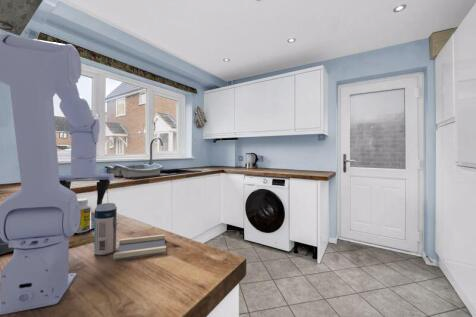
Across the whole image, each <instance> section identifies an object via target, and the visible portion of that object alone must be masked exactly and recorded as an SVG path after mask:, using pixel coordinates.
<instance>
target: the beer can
mask: <svg viewBox="0 0 476 317" xmlns="http://www.w3.org/2000/svg"><path fill="white" fill-rule="evenodd" d="M117 208H118V207H117V205H116V203H114V202H110V203H109V202H107V203H102V204H99V205H97V204H96V207H95V209H94V225H93V226H94V233H93V236H94V241H93V243H94V245H93V247H94V248H93V251H94V252H93V253H94V254H95V255H98V256H105V255H109V254H112V253H114V252H116V251H117V217H118V216H117V214H118V213H117Z"/></svg>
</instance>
